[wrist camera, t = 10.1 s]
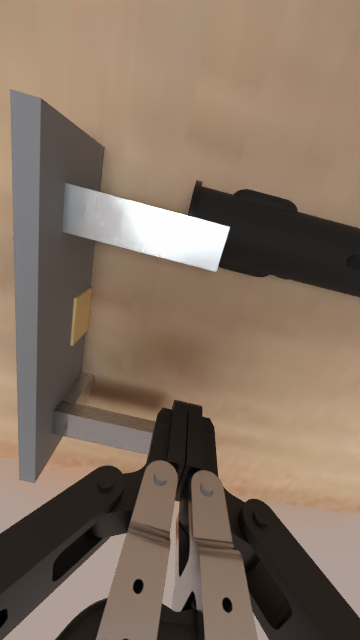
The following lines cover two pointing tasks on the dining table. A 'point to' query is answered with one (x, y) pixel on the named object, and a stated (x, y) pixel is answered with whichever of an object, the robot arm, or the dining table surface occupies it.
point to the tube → (281, 239)
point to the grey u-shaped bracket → (143, 236)
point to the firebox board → (48, 268)
